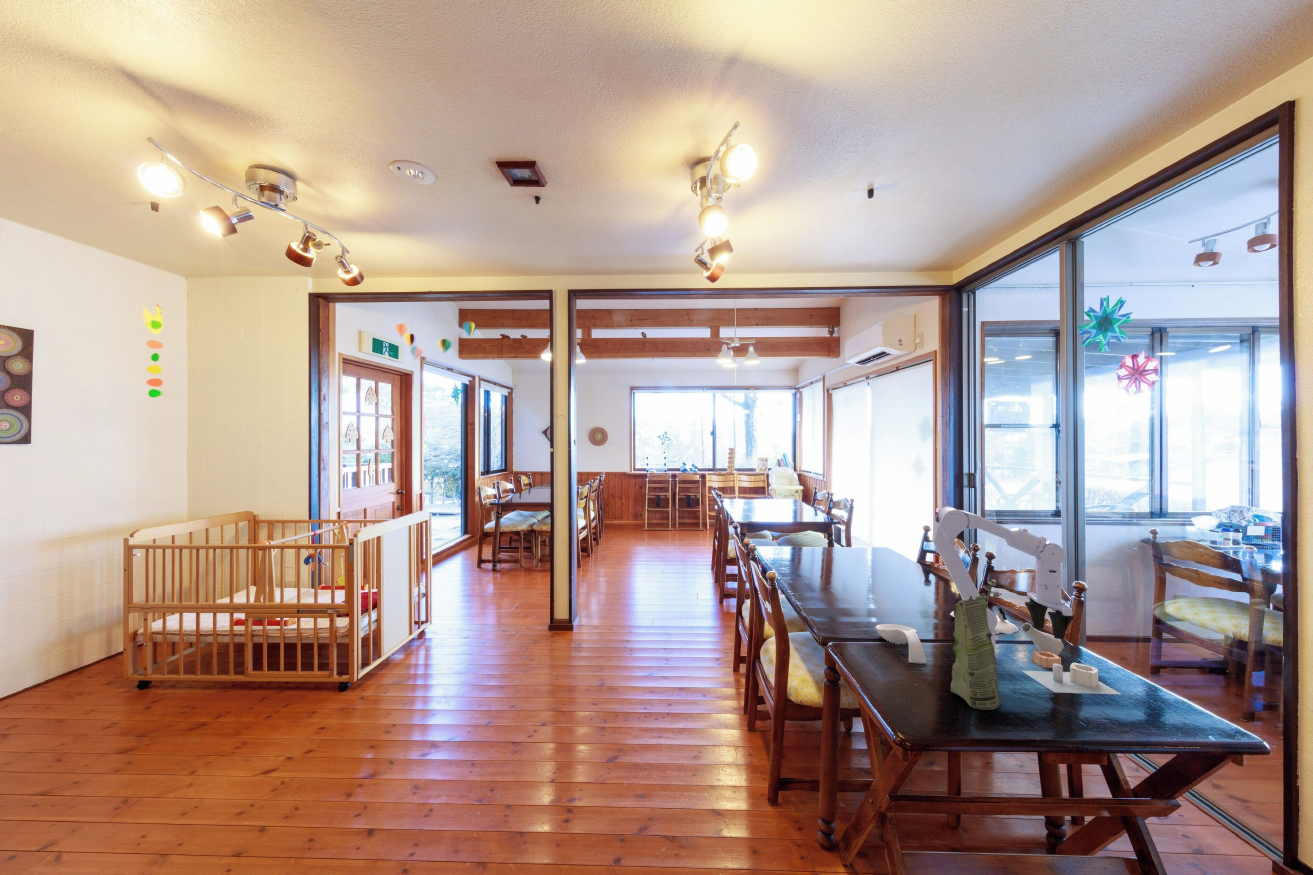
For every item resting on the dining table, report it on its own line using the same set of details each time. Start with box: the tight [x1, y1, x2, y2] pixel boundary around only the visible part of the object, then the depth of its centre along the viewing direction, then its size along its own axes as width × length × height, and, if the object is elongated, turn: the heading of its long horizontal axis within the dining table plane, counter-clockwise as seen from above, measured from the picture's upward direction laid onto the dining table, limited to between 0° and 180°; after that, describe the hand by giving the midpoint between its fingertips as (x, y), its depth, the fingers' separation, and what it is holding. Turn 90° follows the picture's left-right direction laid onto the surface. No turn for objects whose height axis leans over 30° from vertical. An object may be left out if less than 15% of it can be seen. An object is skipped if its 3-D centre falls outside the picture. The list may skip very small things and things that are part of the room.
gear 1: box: [1032, 650, 1062, 669], centre depth 140 cm, size 5×5×4 cm
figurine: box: [949, 579, 1019, 635], centre depth 175 cm, size 20×18×16 cm
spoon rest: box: [875, 623, 927, 664], centre depth 154 cm, size 24×12×7 cm, turn 174°
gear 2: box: [1069, 662, 1099, 687], centre depth 130 cm, size 5×5×4 cm
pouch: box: [950, 592, 1002, 711], centre depth 122 cm, size 11×12×25 cm
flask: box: [1020, 622, 1065, 656], centre depth 147 cm, size 7×7×10 cm
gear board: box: [1022, 663, 1123, 695], centre depth 129 cm, size 16×12×5 cm
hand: (1048, 633), depth 141 cm, fingers open, 7 cm apart
